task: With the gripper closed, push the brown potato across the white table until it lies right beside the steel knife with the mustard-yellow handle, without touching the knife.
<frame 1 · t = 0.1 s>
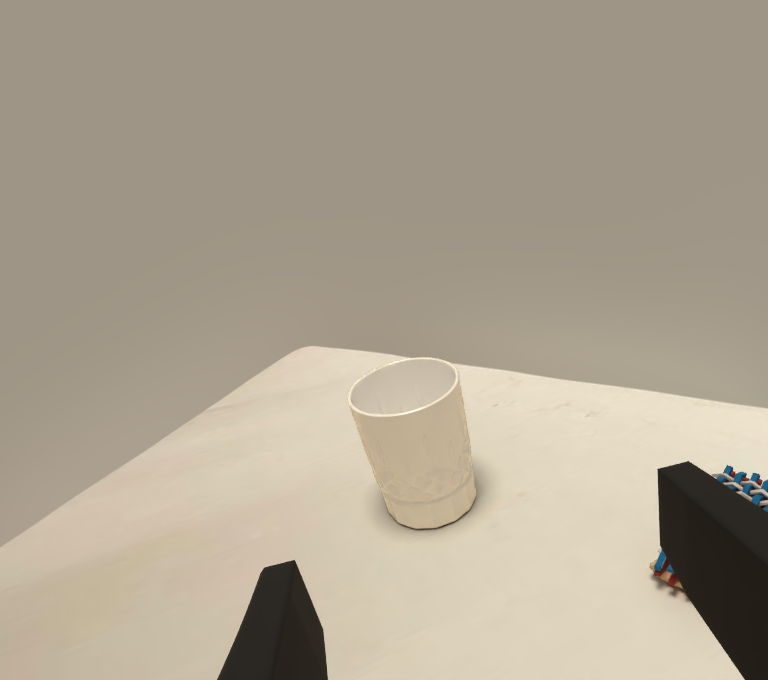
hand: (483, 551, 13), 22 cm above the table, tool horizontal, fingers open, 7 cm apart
white cup: (432, 501, 49), on the table
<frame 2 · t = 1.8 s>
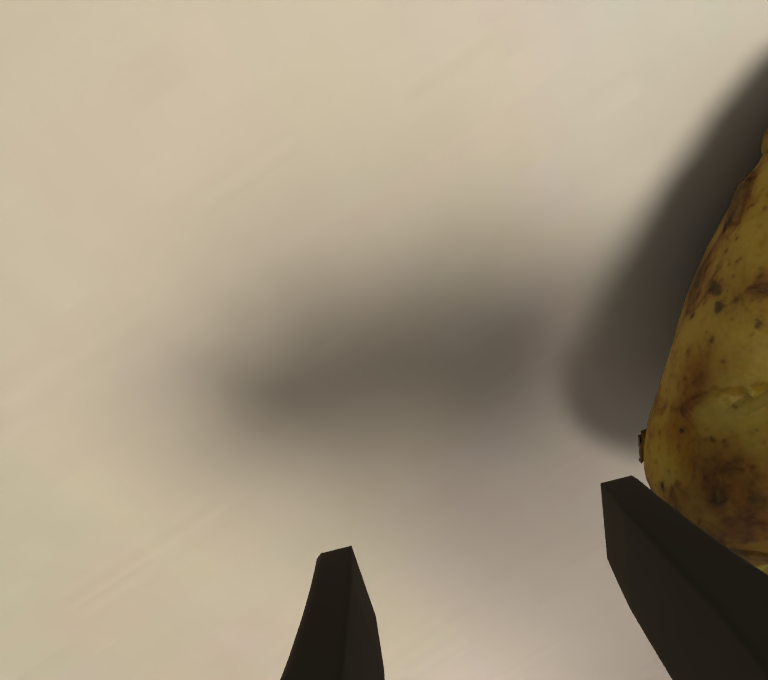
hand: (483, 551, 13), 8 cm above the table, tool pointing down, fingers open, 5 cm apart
potato: (728, 268, 20), on the table
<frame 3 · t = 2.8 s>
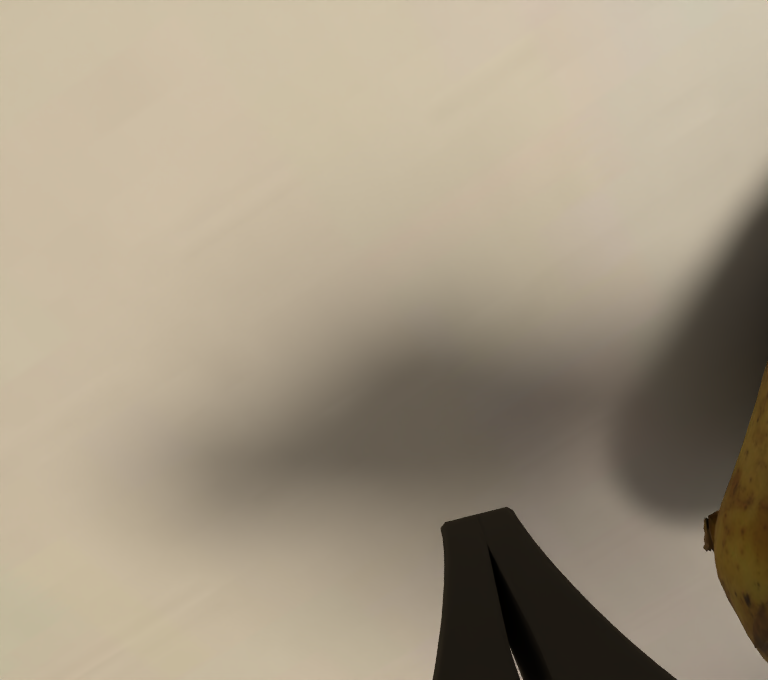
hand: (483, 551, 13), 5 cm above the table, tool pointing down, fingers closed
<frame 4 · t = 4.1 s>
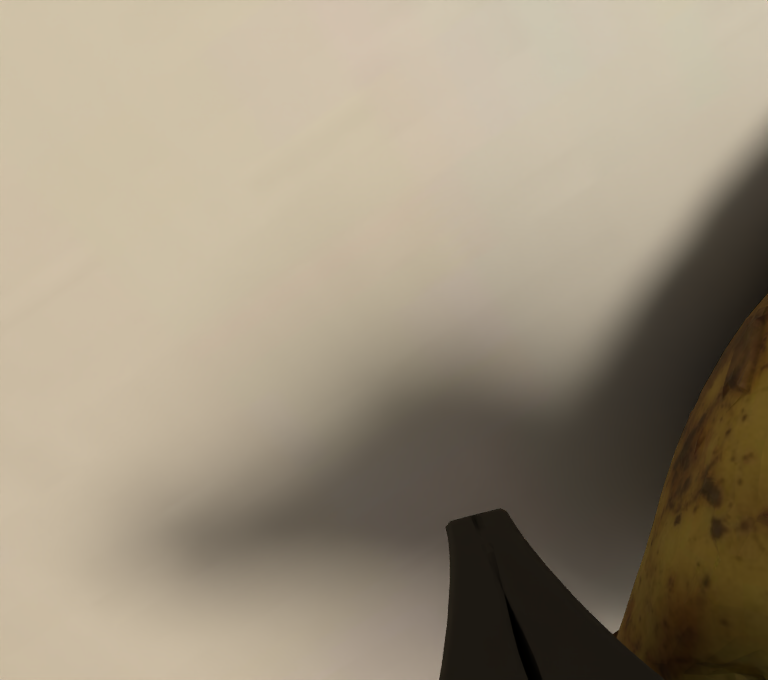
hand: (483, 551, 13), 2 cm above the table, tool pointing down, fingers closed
potato: (729, 397, 15), on the table, touching gripper
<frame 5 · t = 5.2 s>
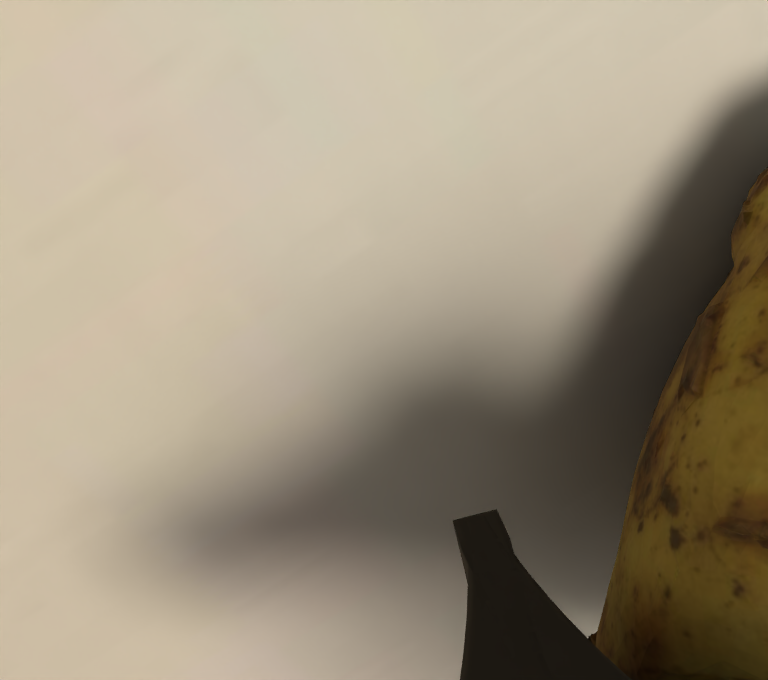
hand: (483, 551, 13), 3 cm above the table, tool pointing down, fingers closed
potato: (700, 385, 15), on the table, touching gripper
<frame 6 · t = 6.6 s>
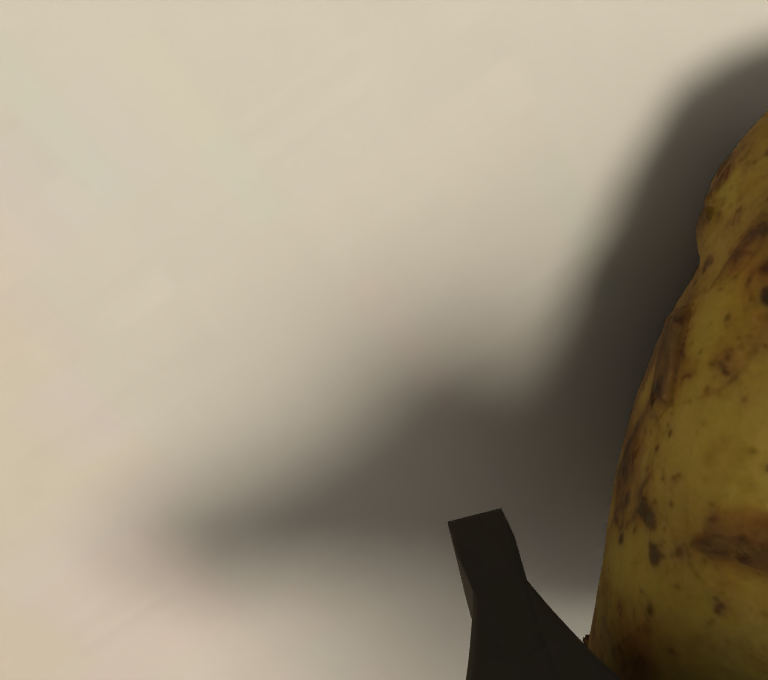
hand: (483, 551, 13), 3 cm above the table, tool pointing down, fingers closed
potato: (680, 374, 14), on the table, touching gripper
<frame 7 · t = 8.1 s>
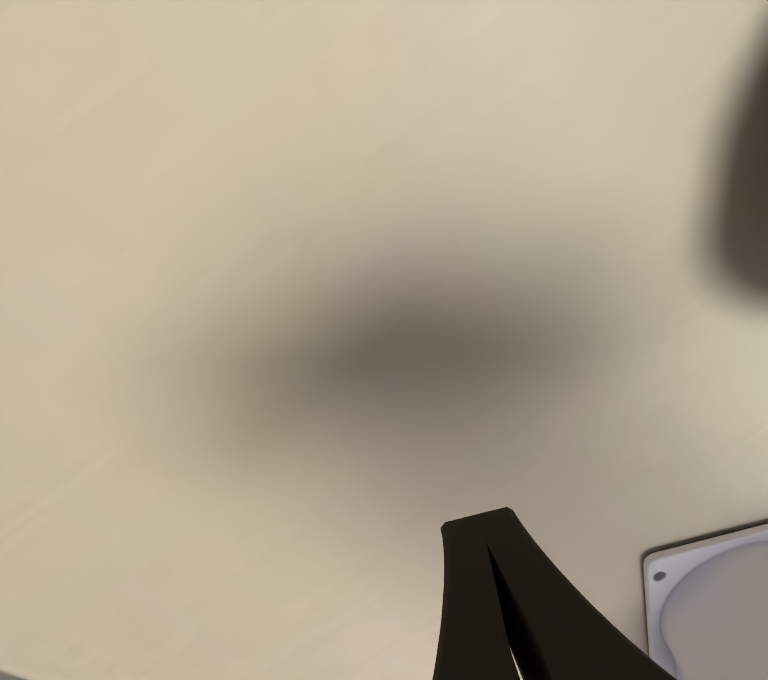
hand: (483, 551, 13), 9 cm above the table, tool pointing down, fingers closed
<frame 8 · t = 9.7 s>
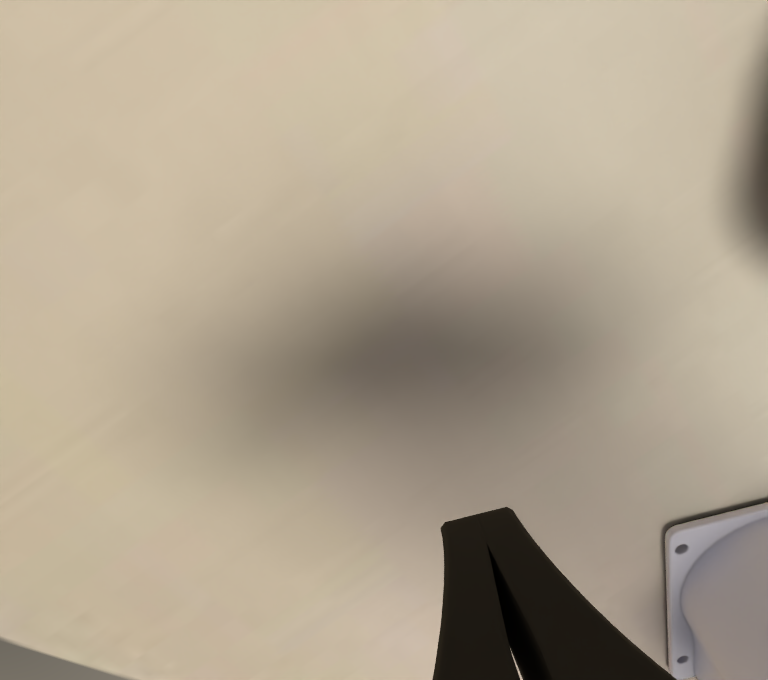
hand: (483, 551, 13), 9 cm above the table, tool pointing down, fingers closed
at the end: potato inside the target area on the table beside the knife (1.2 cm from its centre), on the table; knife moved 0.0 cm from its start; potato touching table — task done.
